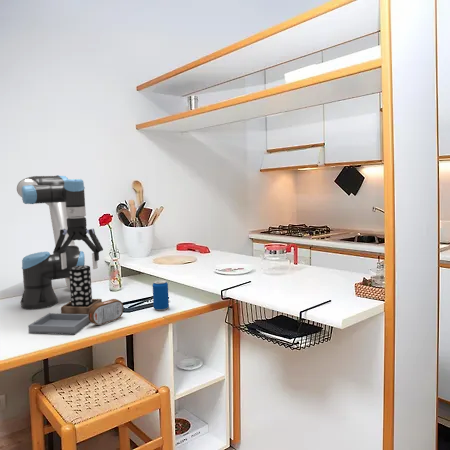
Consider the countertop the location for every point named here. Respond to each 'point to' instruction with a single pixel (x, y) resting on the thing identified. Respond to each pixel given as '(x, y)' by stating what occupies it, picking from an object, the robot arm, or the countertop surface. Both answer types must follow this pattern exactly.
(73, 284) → the white-spotted black cylinder
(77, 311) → the holder
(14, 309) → the countertop surface
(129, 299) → the countertop surface
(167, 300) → the beverage can
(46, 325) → the tray
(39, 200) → the robot arm
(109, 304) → the tin
